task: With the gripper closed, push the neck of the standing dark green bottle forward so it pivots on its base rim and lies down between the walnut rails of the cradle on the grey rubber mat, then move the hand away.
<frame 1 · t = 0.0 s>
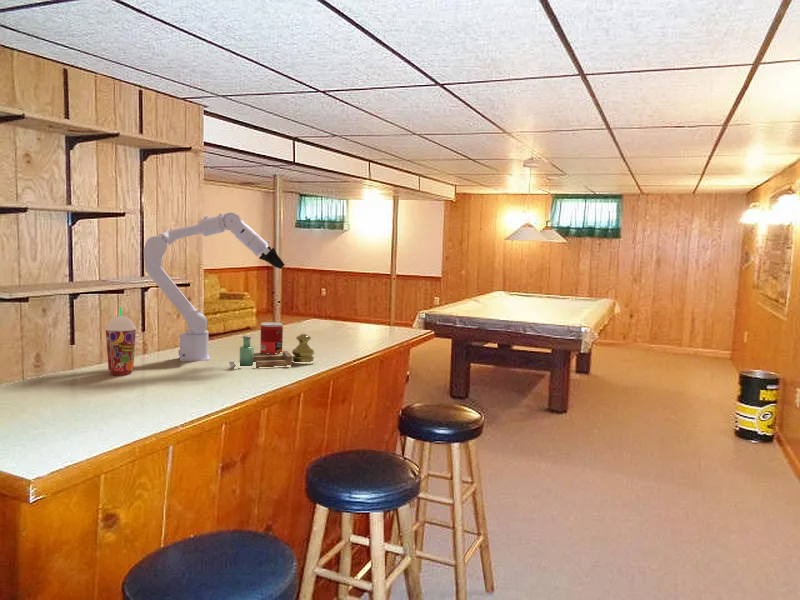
hand: (280, 266, 212), 32 cm above the table, tool tilted 50°, fingers open, 7 cm apart
smoothie: (121, 374, 180), on the table
canned food: (271, 353, 221), on the table
cradle: (260, 365, 199), on the table
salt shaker: (302, 363, 206), on the table
bottle: (246, 365, 197), resting on cradle
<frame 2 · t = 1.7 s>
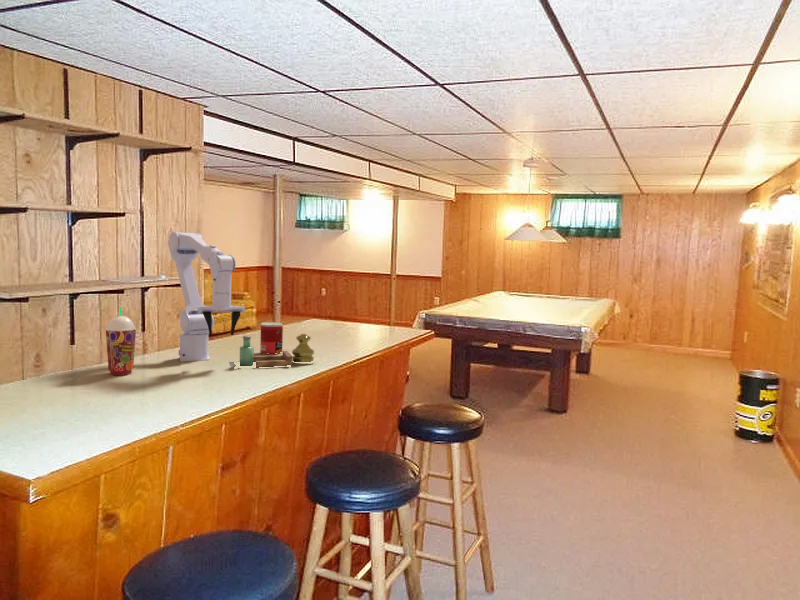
hand: (221, 334, 194), 10 cm above the table, tool pointing down, fingers open, 6 cm apart
nothing on the table moved.
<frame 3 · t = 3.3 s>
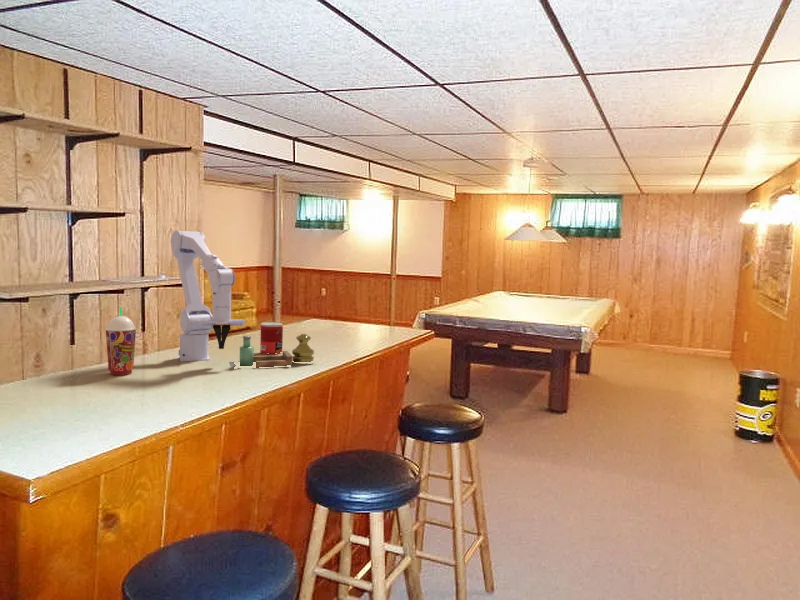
hand: (221, 348, 194), 6 cm above the table, tool pointing down, fingers closed
nothing on the table moved.
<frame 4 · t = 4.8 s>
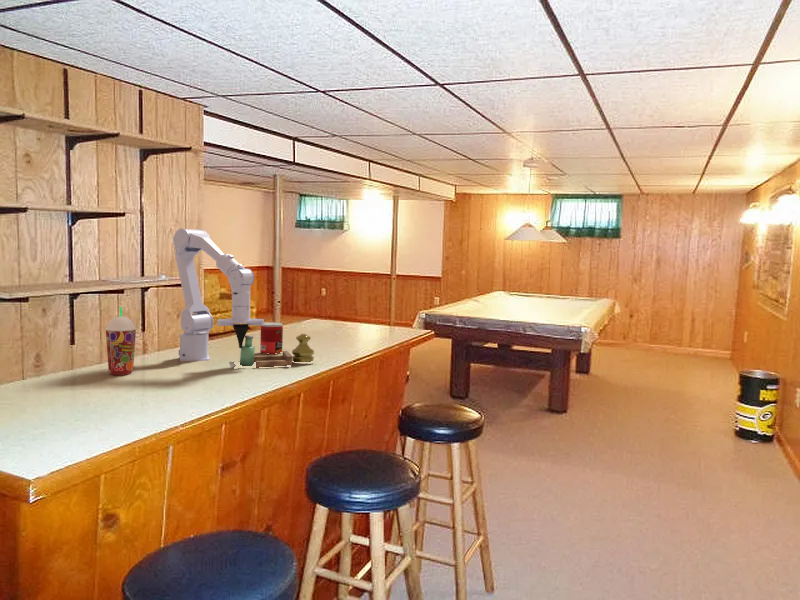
hand: (240, 347, 196), 6 cm above the table, tool pointing down, fingers closed, pressing on bottle
bottle: (246, 364, 197), resting on cradle, touching gripper
everything else where it was.
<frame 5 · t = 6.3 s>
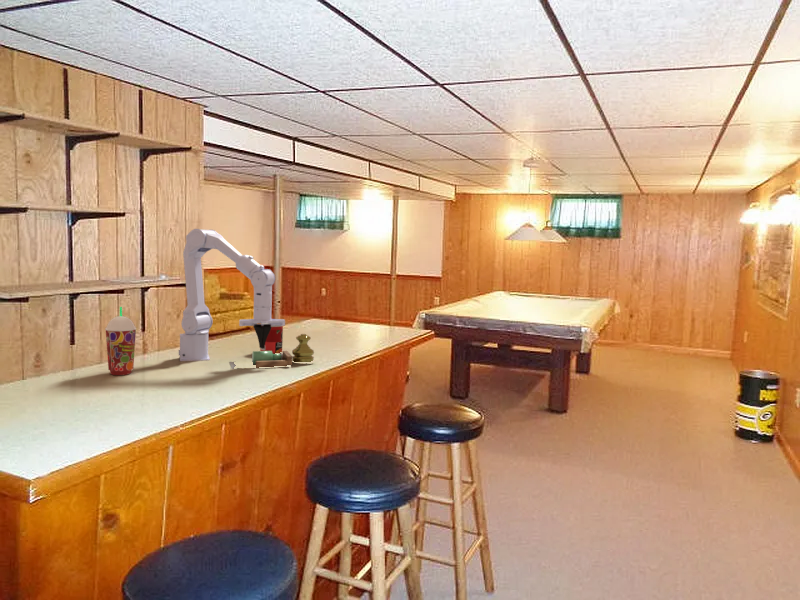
hand: (261, 347, 199), 6 cm above the table, tool pointing down, fingers closed
bottle: (253, 358, 198), point 2 cm above the table, tilted 90°, touching cradle
everything else where it was.
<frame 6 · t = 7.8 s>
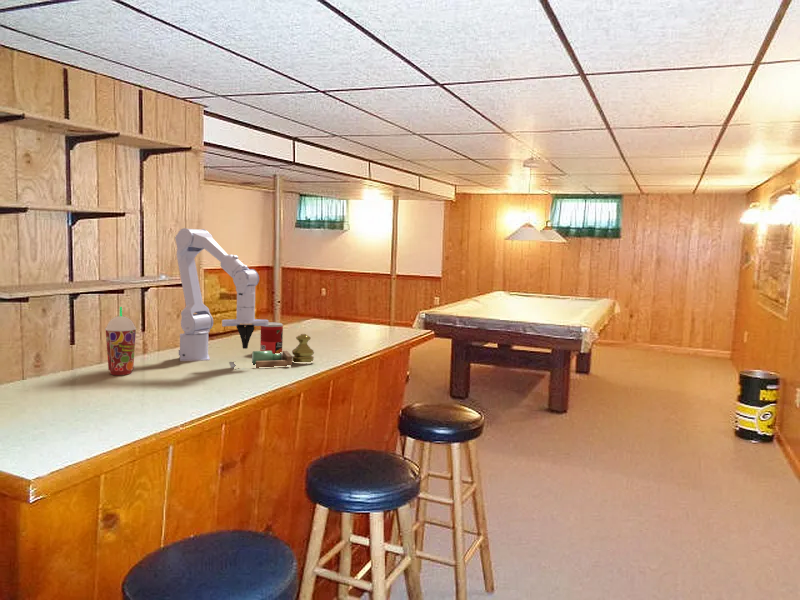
hand: (245, 348, 197), 6 cm above the table, tool pointing down, fingers closed
nothing on the table moved.
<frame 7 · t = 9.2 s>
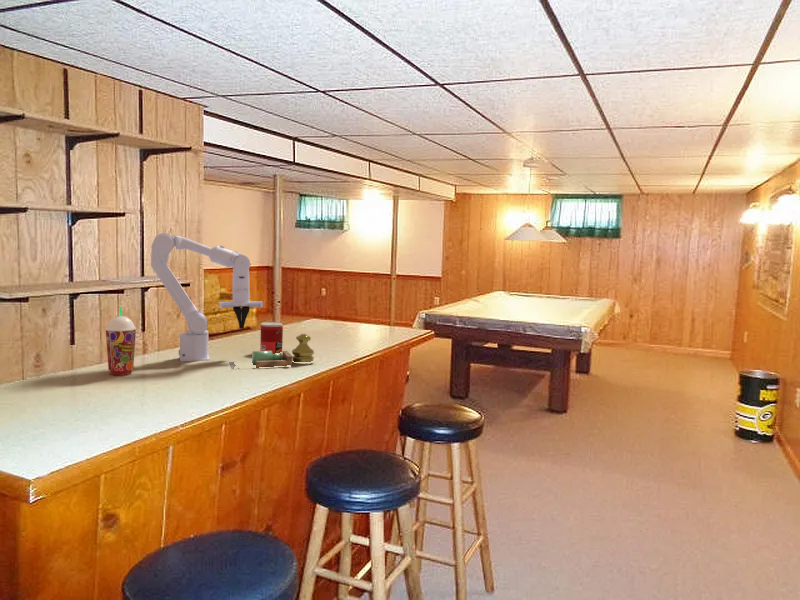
hand: (241, 328, 209), 10 cm above the table, tool pointing down, fingers closed
nothing on the table moved.
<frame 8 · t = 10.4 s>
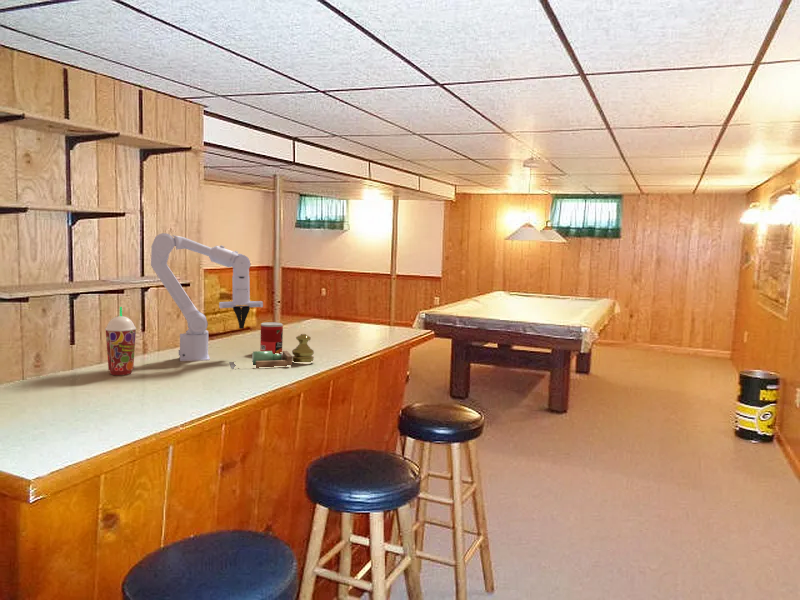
hand: (241, 328, 209), 10 cm above the table, tool pointing down, fingers closed
nothing on the table moved.
at the end: bottle tilted 90°; bottle inside the target area (2.3 cm from its centre), point 2.5 cm above the table; the gripper is holding nothing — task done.
